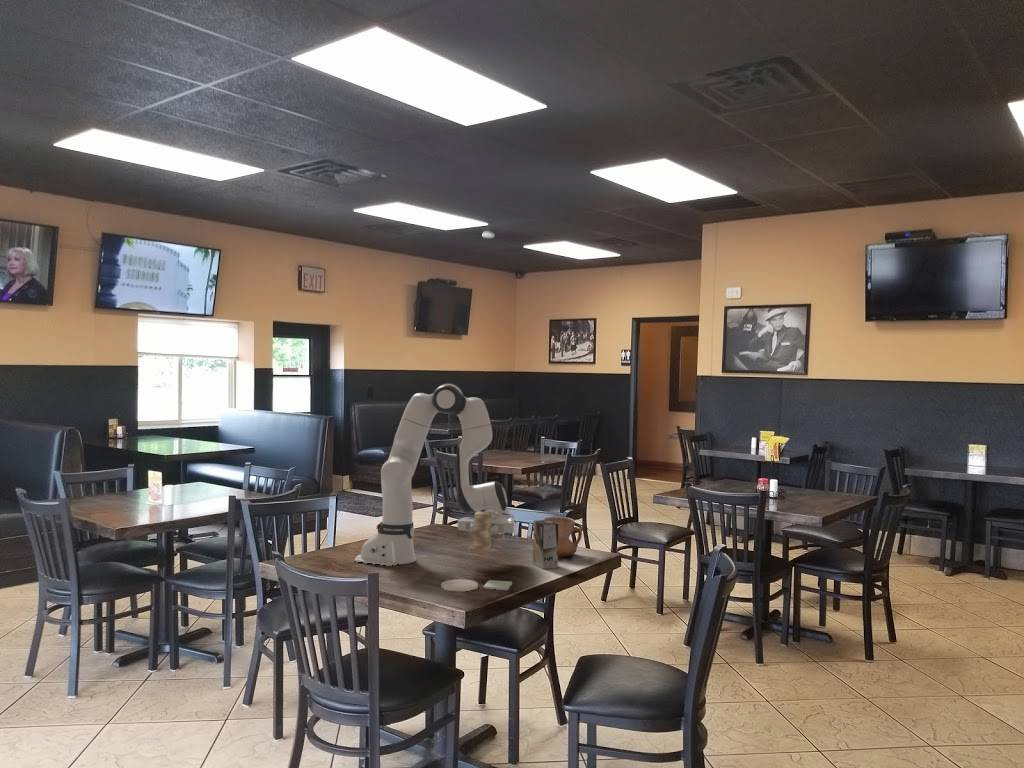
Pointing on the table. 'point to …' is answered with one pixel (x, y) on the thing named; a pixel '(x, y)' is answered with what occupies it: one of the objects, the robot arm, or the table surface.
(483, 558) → the table surface
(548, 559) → the coffee box
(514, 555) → the table surface
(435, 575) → the table surface
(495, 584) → the sage coaster
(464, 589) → the cream saucer
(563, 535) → the ceramic jug
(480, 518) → the maple block
